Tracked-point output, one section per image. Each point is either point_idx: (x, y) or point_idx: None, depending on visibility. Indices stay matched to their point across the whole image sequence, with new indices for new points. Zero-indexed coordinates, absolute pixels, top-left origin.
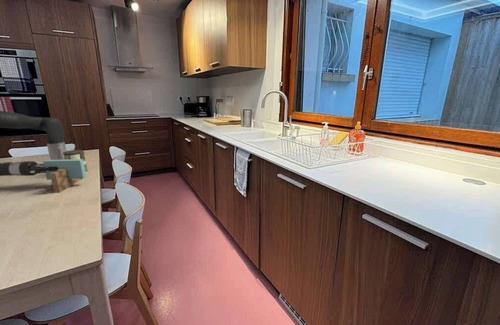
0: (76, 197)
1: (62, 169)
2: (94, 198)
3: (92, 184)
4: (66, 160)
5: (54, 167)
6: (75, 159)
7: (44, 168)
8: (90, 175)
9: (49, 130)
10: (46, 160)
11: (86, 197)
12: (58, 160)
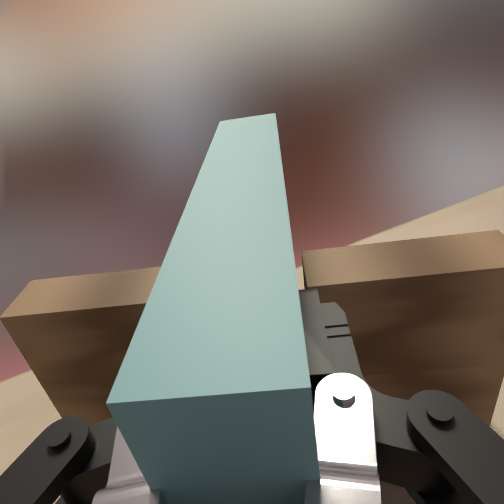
0: None
1: (332, 257)
2: (472, 205)
3: None
4: (257, 156)
5: (321, 310)
6: (221, 138)
7: (433, 399)
8: (24, 404)
9: None
10: (190, 364)
11: (475, 228)
12: (243, 200)
